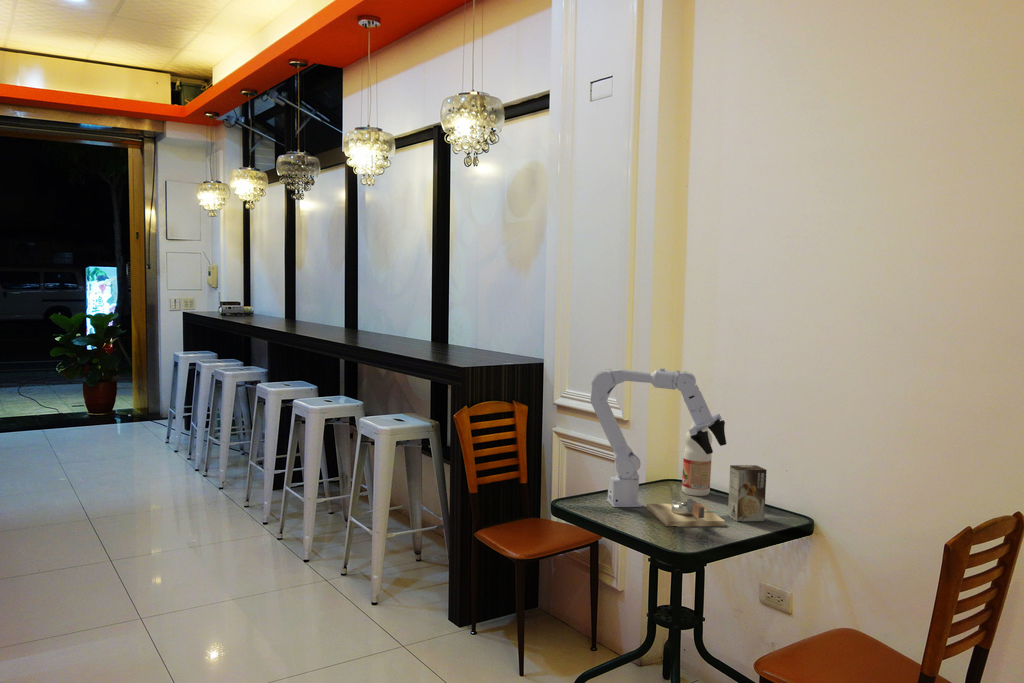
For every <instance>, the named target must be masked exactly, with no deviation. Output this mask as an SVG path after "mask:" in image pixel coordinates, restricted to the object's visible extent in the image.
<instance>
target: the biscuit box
mask: <svg viewBox="0 0 1024 683" xmlns="http://www.w3.org/2000/svg"><path fill="white" fill-rule="evenodd" d="M728 486H729V487H728V488H729V489H728V507H727V516H728V517H729V516H730V519H732V518H733V520H734V521H735V520H736V521H735V522H737V521H741V522H764V521H765V510H766V493H767V492H766V490H767V489H766V487H767V469H765V468H763V467H761V466H759V465H756V464H754V465H752V464H751V465H750V464H749V465H748V464H744V465H742V464H741V465H740V464H739V465H738V464H737V465H734V464H733V465H731V464H730V468H729V485H728Z"/></svg>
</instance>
